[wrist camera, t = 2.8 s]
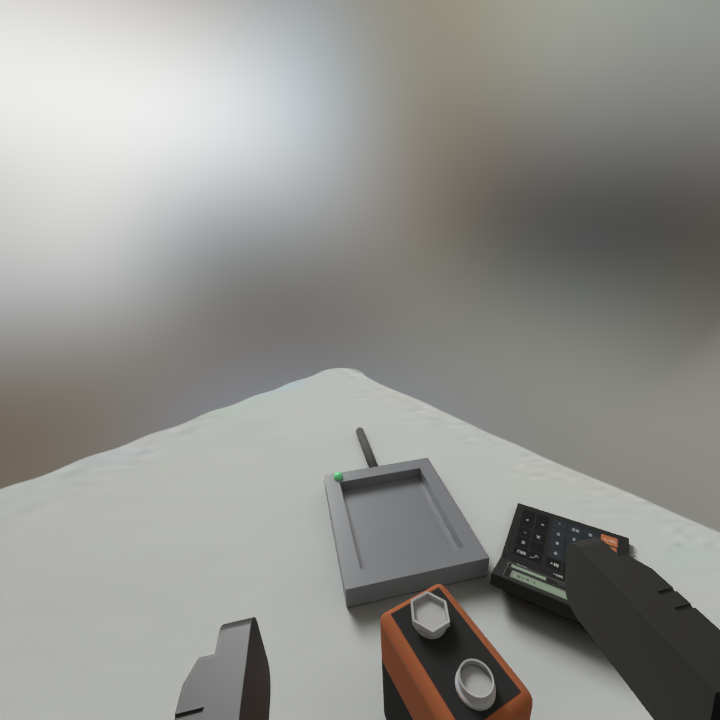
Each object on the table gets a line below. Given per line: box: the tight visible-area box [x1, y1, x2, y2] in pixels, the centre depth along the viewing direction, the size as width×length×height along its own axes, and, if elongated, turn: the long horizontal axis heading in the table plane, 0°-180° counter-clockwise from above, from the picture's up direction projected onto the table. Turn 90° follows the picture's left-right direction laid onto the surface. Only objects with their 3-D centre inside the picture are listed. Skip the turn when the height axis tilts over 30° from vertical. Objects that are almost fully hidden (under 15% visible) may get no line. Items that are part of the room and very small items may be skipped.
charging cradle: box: [324, 428, 489, 608], centre depth 42 cm, size 24×12×3 cm, turn 12°
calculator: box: [490, 503, 629, 623], centre depth 32 cm, size 9×12×3 cm
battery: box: [380, 584, 532, 720], centre depth 21 cm, size 4×7×10 cm, turn 27°
